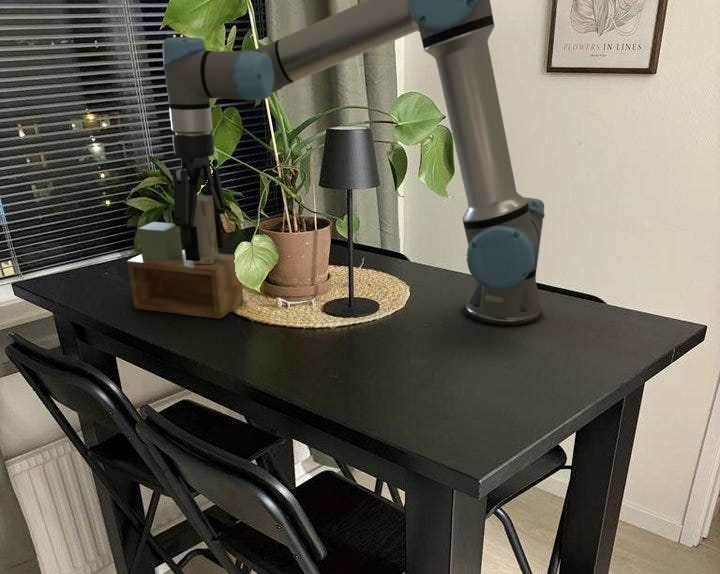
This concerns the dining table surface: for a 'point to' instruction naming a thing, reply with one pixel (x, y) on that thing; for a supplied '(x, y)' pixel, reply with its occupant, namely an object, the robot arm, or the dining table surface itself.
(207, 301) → the shelf
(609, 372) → the dining table surface
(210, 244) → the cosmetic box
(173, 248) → the sage box
